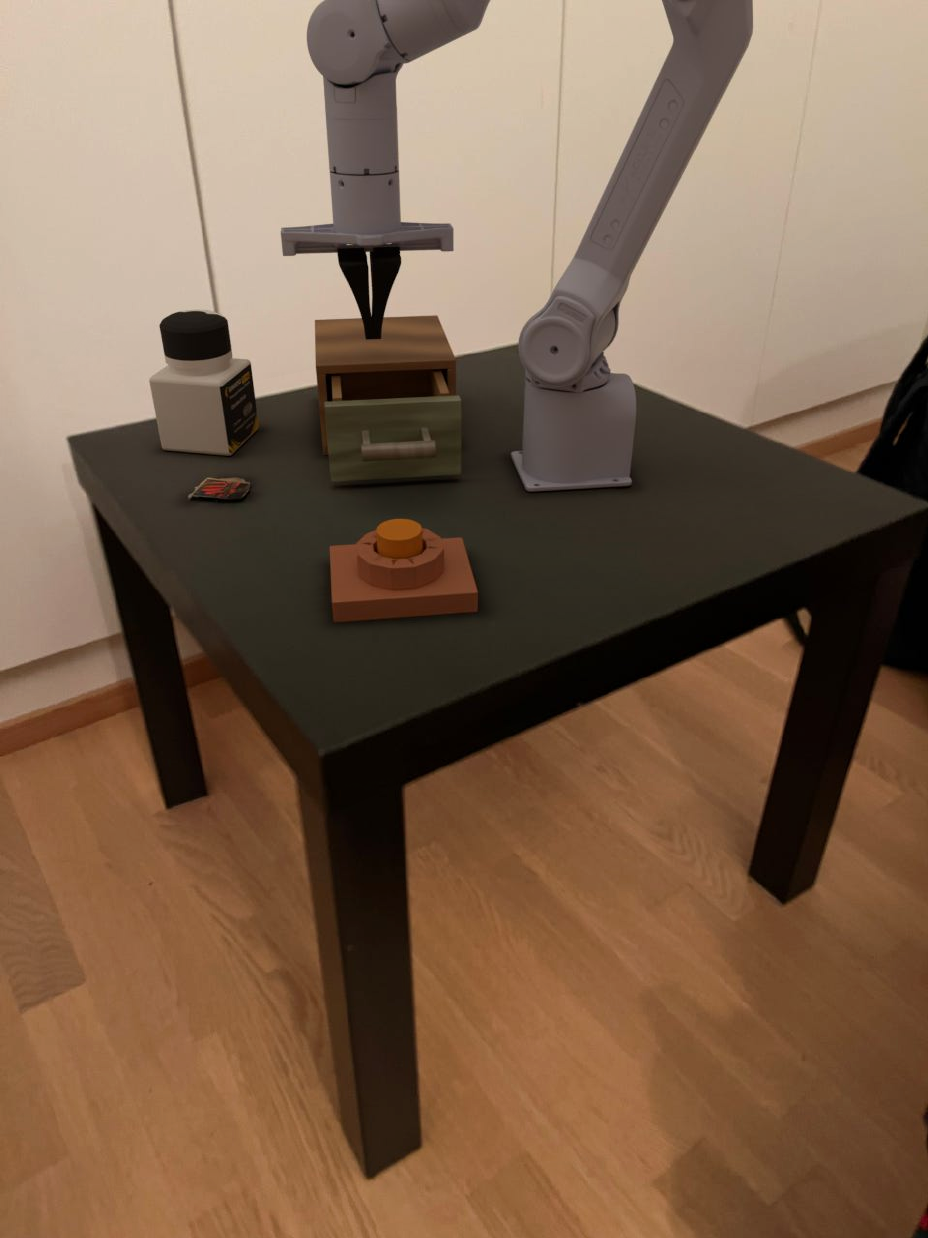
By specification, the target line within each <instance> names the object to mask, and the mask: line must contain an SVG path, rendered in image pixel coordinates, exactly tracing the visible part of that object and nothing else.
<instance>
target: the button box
mask: <svg viewBox="0 0 928 1238" xmlns="http://www.w3.org/2000/svg"><path fill="white" fill-rule="evenodd" d="M422 543H423V551H422V553H421V554H420V555H417V556H415V557H412V558H409V559H391V558H386V557H381V556H380V555H379V554H378V551H377V534H376V529H375V530H372V531H369V532H367V533H365V534H364V535H363V536H362V537H361V538H360V539H359V540H358V541H357V542H356V543H353V544H340V545H339V544H338V545H330V546H329V564H330V566H329V567H330V588H331V591H330V592H331V607H332V618H333V619H332V620H333V623H347V622H348V623H349V622H359V621H360V622H362V621H373V620H375V621H377V620H386V619H388V620H389V619H400V618H401V619H403V618H413V617H415V618H416V617H428V616H442V615H451V614H452V615H454V614H456V615H457V614H468V613H478V611H479V591H478V588H477V587H478V586H477V584H476V581H475V577H474V573H473V569H472V566H471V564H470V560H469V557H468V552H467V550H466V546H465V543H464V539H463V537H461V536H460V537H446V538H445V537H444V538H442V537H441V536H439V535H438V534H437V533H435V532H433V531H432V530H430V529H428V528H423V527H422Z"/></svg>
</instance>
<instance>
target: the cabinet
mask: <svg viewBox="0 0 928 1238" xmlns="http://www.w3.org/2000/svg"><path fill="white" fill-rule="evenodd" d="M314 344H315V345H314V348H315V349H314V350H315V351H314V354H315V355H314V356H315V373H316V385H317V397H318V408H319V409H318V410H319V421H320V432H321V443H322V453H323V456H329V453H328V442H327V430H326V418H325V404H324V402H330V401H333V396H332V380H331V374H333V373H356V372H379V371H402V370H425V369H441V372H442V374H443V377H444V380H445V383H446V385H447V388H448V391H449V396H457V359H456V357H455V354H454V351H453V349H452V347H451V345H450V344H451V343H450V342H449V340H448V337H447V335H446V333H445V330H444V328H443V326H442V323H441V321H440V318H439V316H438V315H437V314H436V315H411V316H409V315H408V316H384V318H383V323H382V332H381V339H369V340H367V339H366V338H365V333H364V325H363V321H362V317H355V318H331V319H330V318H328V319H314Z"/></svg>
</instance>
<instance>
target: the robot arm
mask: <svg viewBox="0 0 928 1238" xmlns="http://www.w3.org/2000/svg"><path fill="white" fill-rule="evenodd" d="M490 2H491V0H322V1H321V2H320V3H319V4H318V5H317V6H316V7H315V8H314V10H313V11H312V13H311V15H310V17H309V20H308V23H307V28H306V45H307V50H308V54H309V57H310V60H311V62H312V64H313V66H314V68H315V69H316V70H317V71H318V73H319V74H320V75H321V76H322V79H323V80H322V82H323V96H324V97H323V98H324V111H325V112H324V115H325V127H326V140H327V141H326V142H327V155H328V170H329V183H330V197H331V199H330V200H331V211H332V213H331V214H332V223H325V224H314V225H303V226H287V227H281V228H280V239H281V240H280V241H281V251H282V256H283V257H295V256H296V255H301V254H302V255H304V254H305V255H308V254H309V255H310V254H337V261H338V262H337V263H338V266H339V267H340V271H341V272H342V274H343V276H344V278H345V280H346V282H347V284H348V286H349V288H350V290H351V292H352V295H353V297H354V300H355V302H356V305H357V308H358V311H359V314H360V318H362V321H363V325H364V333H365V338H366V339H367V340H369V339H381V332H382V323H383V318H384V317H385V312H386V308H387V305H388V301H389V298H390V294H391V292H392V289H393V287H394V284H395V282H396V278H397V276H398V275H399V272H400V269H401V265H402V256H401V252H407V251H408V252H409V251H411V252H412V251H415V252H416V251H441V252H443V253H445V252H454V250H455V249H454V245H455V244H454V243H455V242H454V227H453V225H452V223H450V222H449V223H445V222H444V223H441V222H439V223H433V222H410V221H409V222H408V221H402V215H401V183H400V182H401V181H400V159H399V158H400V156H399V155H400V153H399V129H398V127H399V125H398V104H397V103H398V101H397V99H398V98H397V77H398V74H399V73H400V71H401V69H402V68H403V67H404V64H409V63H412V62H414V61H415V60H417V59H419V58H421V57H424V56H425V55H428V54H430V53H432V52H433V51H436V50H437V49H439V48H440V49H441V48H442V47H443V46H446V45H448V44H450V43H452V42H454V41H456V40H458V39H460V38H462V37H464V36H466V35H468V34H470V33H472V32H474V31H477V30H478V29H479V28H480V27H481V24H482V22H483V20H484V17H485V14H486V11H487V9H488V7H489V4H490ZM661 2H662V5H663V9H664V11H665V15H666V18H667V22H668V24H669V29H670V31H671V34H672V39H673V41H672V45H671V47H670V49H669V51H668V54H667V56H666V58H665V59H664V62H663V64H662V67H661V68H660V70H659V73H658V74H657V77H656V79H655V81H654V83H653V86H652V88H651V89H650V92H649V94H648V97H647V98H646V101H645V102H644V105H643V107H642V110H641V111H640V114H639V116H638V118H637V119H636V122H635V125H634V126H633V129H632V131H631V133H630V135H629V136H628V140H627V142H626V144H625V146H624V148H623V151H621V152H622V153H621V155H620V157H619V159H618V161H617V163H616V164H615V168H614V169H613V171H612V174H611V176H610V178H609V180H608V183H607V185H606V187H605V189H604V191H603V193H602V195H601V197H600V199H599V201H598V204H597V206H596V208H595V210H594V212H593V215H592V216H591V219H590V221H589V224H588V226H587V227H586V229H585V231H584V234H583V236H582V238H581V240H580V242H579V245H578V247H577V249H576V251H575V253H574V255H573V257H572V259H571V261H570V262H569V264H568V265H567V267H566V269H565V270H564V272H563V273H562V275H561V276H560V278H559V280H558V281H557V283H556V284H555V286H554V287H553V290H552V291H551V293H550V296H549V298H548V300H547V302H546V303H545V305H544V306H543V307H542V308H541V309H540V310H538V311H537V312H536V313H535V314H533V315H531V316H530V318H529V319H527V321H526V322H525V324H524V325H523V326H522V328H521V330H520V333H519V337H518V343H517V344H518V345H517V349H518V356H519V359H520V360H519V361H520V362H521V365H522V367H523V368H524V371H525V372H524V394H523V395H524V397H523V421H522V422H523V424H522V448H521V450H515V451H512V452H511V453H510V458H511V460H512V463H513V465H514V468H515V469H516V471H517V473H518V476H519V478H520V480H521V483H522V485H523V487H524V490H526V492H530V493H534V492H549V491H551V492H552V491H566V490H584V489H603V488H617V487H629V486H631V485H632V484H633V480H632V478H631V477H630V476H631V470H632V469H631V467H632V458H633V450H634V441H635V430H636V421H637V395H636V389H635V385H634V382H633V379H632V378H631V376H630V375H629V374H627V373H622V372H621V373H620V372H619V373H618V372H611V368H610V366H609V363H608V360H607V358H606V356H605V352H604V351H606V350H607V349H608V348H609V347H610V346H611V344H612V343H613V342H614V340H615V338H616V337H617V333H618V330H619V323H620V322H619V320H620V318H619V317H620V316H619V313H620V308H621V303H622V300H623V298H624V297H625V295H626V292H627V291H628V288H629V284H630V280H631V276H632V274H633V273H634V271H635V268H636V266H637V264H638V262H639V261H640V259H641V257H642V255H643V253H644V252H645V249H646V248H647V245H648V243H649V241H650V239H651V238H652V236H653V233H654V231H655V229H656V228H657V226H658V224H659V223H660V219H662V216H663V214H664V212H665V210H666V208H667V206H668V205H669V203H670V200H671V198H672V196H673V194H674V192H675V191H676V189H677V187H678V185H679V183H680V181H681V179H682V177H683V175H684V173H685V171H686V169H687V167H688V165H689V163H690V161H691V159H692V157H693V155H694V153H695V151H696V149H697V148H698V146H699V144H700V141H701V140H702V138H703V136H704V134H705V132H706V130H707V128H708V126H709V124H710V122H711V121H712V118H713V117H714V114H715V113H716V110H717V109H718V106H719V104H720V103H721V101H722V99H723V97H724V96H725V94H726V91H727V90H728V88H729V85H730V83H731V81H732V79H733V77H734V75H735V74H736V72H737V70H738V69H739V66H740V64H741V62H742V60H743V58H744V56H745V54H746V52H747V50H748V48H749V46H750V42H751V40H752V36H753V34H754V1H753V0H661ZM367 253H369V262H368V256H367ZM368 263H369V264H368ZM369 266H370V268H369ZM369 269H370V270H369ZM369 272H370V275H369ZM370 280H371V281H370ZM370 282H371V298H370ZM370 299H371V300H370Z"/></svg>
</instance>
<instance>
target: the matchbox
mask: <svg viewBox="0 0 928 1238" xmlns="http://www.w3.org/2000/svg"><path fill="white" fill-rule="evenodd" d="M193 488H194V491H193V492H191V493H189V494H188V496H187V501H191V499H193V497H195V498H200V497H202V498H215V499H223V500H242V499H243V498H244V497H245V496H246V494H247V493H248V492H249V490H250V489H251V482H249V481H246V480H245V478H240V476H239V477H238V476H237V477H226V478H223V477H221V478H214V477H206V478H204V480H202V482H200V484H199V485H197V486H194V487H193ZM214 502H218V500H214Z"/></svg>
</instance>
